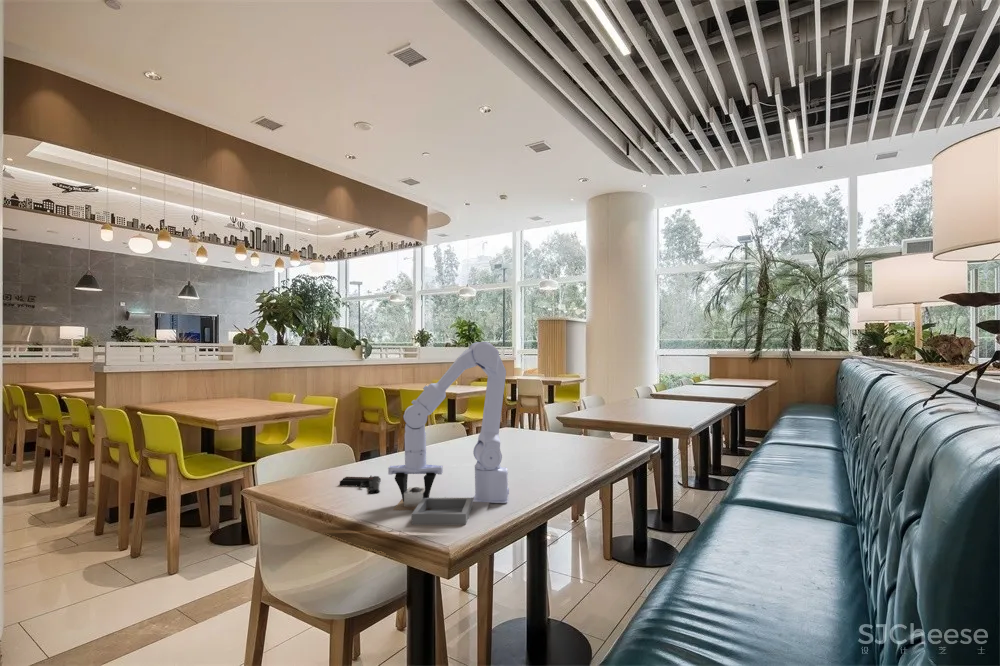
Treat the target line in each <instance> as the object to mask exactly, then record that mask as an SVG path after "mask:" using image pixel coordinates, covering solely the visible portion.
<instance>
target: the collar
mask: <svg viewBox="0 0 1000 666" xmlns="http://www.w3.org/2000/svg"><path fill="white" fill-rule="evenodd" d="M412 488H413V487H407V490H406V491H405V492H404V507H417V506H418V504H419V503H420V501H421V500H422V499H423V498H425V487H419V488H420V492H412Z"/></svg>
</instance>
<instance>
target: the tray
mask: <svg viewBox="0 0 1000 666" xmlns="http://www.w3.org/2000/svg"><path fill="white" fill-rule="evenodd" d="M472 501H473V498H472V497H429V498H423V499H422V500H421V501H420V503H419V504H418V506H417V507H416V509H415V510H412V513H411V525H431V526H432V525H435V526H436V525H437V526H438V525H443V526H444V525H447V526H449V525H454V526H457V525H460V526H461V525H463V526H466V525H467V522H468V520H469V517H470V515H471V511H472V510H473V509H472V508H473V502H472ZM427 508H428V510H427ZM429 508H431V510H429Z"/></svg>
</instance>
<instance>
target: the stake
mask: <svg viewBox="0 0 1000 666" xmlns="http://www.w3.org/2000/svg"><path fill="white" fill-rule="evenodd" d="M411 488H412V492H420V488H421V487H420V486H419V487H417V486H415V487H411ZM415 509H416V507H404V502H403V498H402V497H401V500H400V501H399V502H398V503H397V504H396V506H394V507H393V509H392V511H414V510H415ZM427 510H428V508H427ZM429 510H431V508H429Z"/></svg>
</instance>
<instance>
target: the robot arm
mask: <svg viewBox="0 0 1000 666" xmlns="http://www.w3.org/2000/svg"><path fill="white" fill-rule="evenodd" d="M477 366H478V367H480V368H481V370H482V371H483V372H484V373H485V374H486V376H487V379H486V380H487V381H486V389H485V395H484V397H485V398H484V405H483V406H484V407H483V413H482V421H481V429H480V432H479V434H478V438H477V442H476V444H475V446H474V447H473V451H472V452H473V456H474V459H475V460H476V462H475V465H474V489H475V490H474V496H473V498H472V503H475V502H476V503H489V504H507V503H508V501H509V500H508V499H509V495H510V488H509V474H508V473H509V471H508V467H505V466H504V467H503V466H501V463H502V460H503V454H502V452H501V439H500V426H501V418H502V410H503V401H504V392H505V386H506V385H505V384H506V378H507V377H506V376H507V369H506V368H505V365H504V363H503V360H502V359H501V356H500V352H499V350H498V349H497V348H496V347H495V346H494V345H493V344H492V343H491V342H490V341H476V342H473V343H472V344H471V345H469V346H468V348H467V349H465V350H464V351H463V352H462V353H461V354H459V356H458V357H457V358H456V359H455V360H454V362H453V363H452V364H451V365H450V366H449V368H448V369H447V370H446V372H445V373H444V374H443V375H442V376H441V378H440V379H438V381H437V382H436V383H433V382H431V383H429V384H428V385H425V386H423V387H422V389H423V391H422V392H421V393H420V394H419V396H418V397H417V398H416V399H413V400H412V401H411V404H412V405H409V406H408V407H407V408H406V409H405V411H404V413H403V415H402V417H403V420H404V422H405V424H404V425H405V426H404V464H400V465H390V466H388V468H387V470H388V471H387V472H388V473H387V475H391V476H392V475H395V476H394V481H395V482H396V485H397V486H398V489H399V491H400V494H401V499H402V498H403V502H404V492H405V491H406V490H407V489H408V479H409V475H414V474H415V475H424V476H423V482H424V488H425V498H430V495H431V489H432V486H433V483H434V480H435V478H436V476H437V475H443V473H444V470H443V469H444V465H436V464H427V433H426V424H427V422H428V416H430V415H432V413H434V412H435V410H436V409H437V408H438V407H439V406H440V405H441V403H442V402H443V401H444V400H445V399H446V398H447V394H446V391H447V390H448V389H449V387H451V386H452V384H453V383H454V382H455V381H456V380H457V379H458V378H460V376H461V375H462V374H463V373H464V372H465V370H468V369H471V368H475V367H477Z"/></svg>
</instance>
